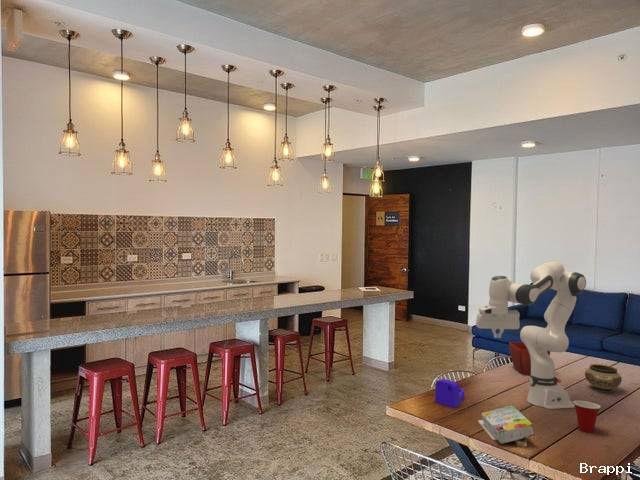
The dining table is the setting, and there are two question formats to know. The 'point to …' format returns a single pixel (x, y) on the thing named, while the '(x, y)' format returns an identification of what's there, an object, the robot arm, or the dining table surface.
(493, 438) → the mat
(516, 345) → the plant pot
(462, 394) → the bracket
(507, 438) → the snack box
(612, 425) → the dining table surface
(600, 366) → the ceramic bowl
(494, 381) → the dining table surface
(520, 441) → the tear bar
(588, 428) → the plastic cup
